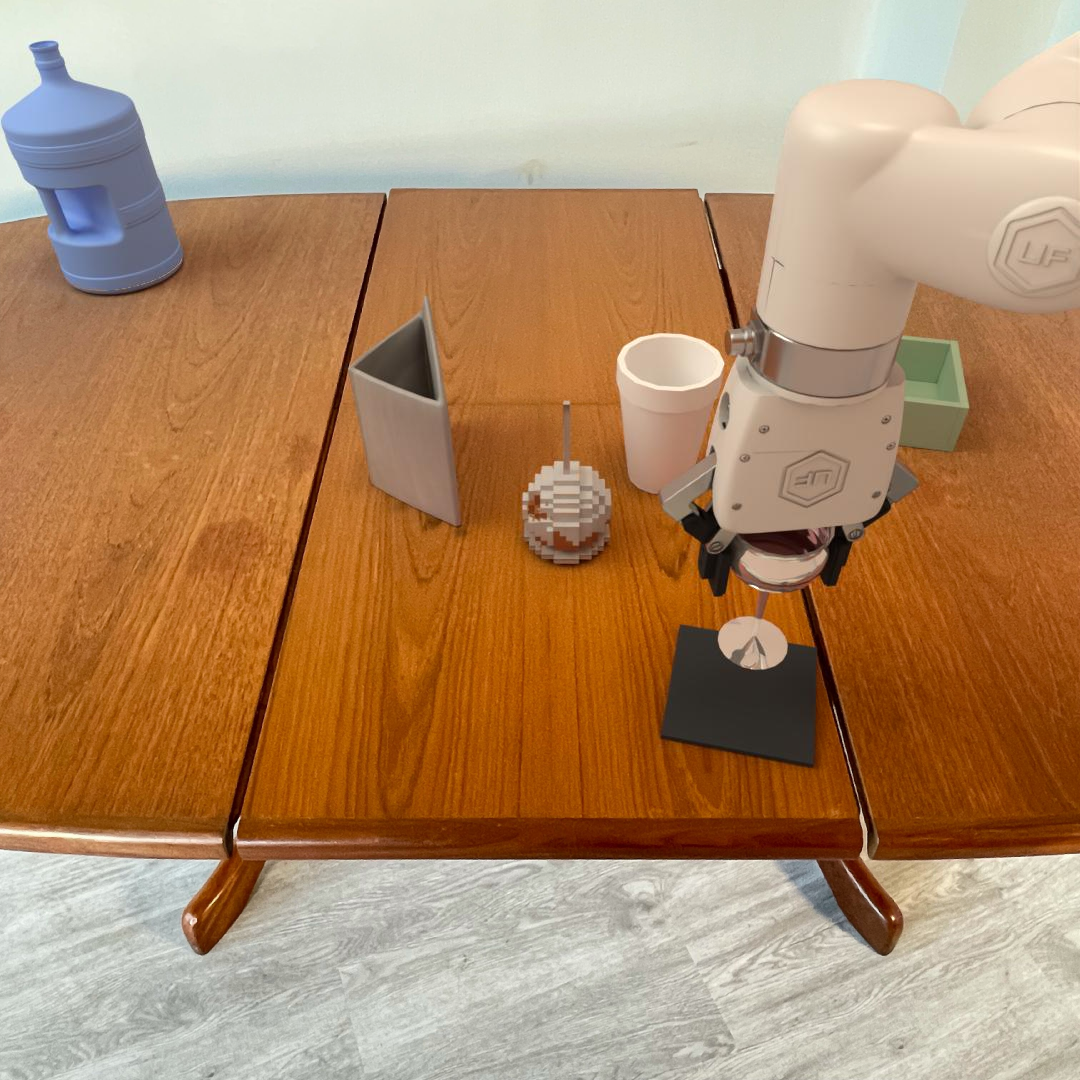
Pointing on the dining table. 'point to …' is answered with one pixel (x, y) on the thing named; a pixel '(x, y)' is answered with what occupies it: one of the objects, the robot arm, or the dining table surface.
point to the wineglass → (770, 588)
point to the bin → (932, 393)
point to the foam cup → (666, 404)
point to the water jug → (93, 180)
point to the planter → (408, 418)
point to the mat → (742, 701)
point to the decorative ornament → (567, 508)
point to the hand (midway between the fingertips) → (768, 574)
